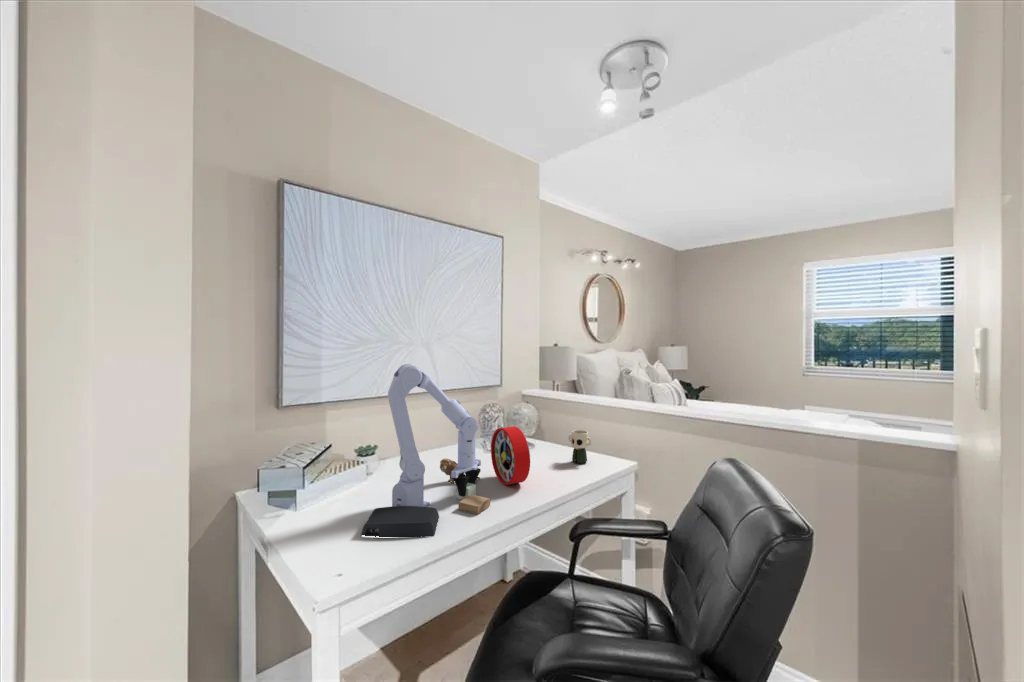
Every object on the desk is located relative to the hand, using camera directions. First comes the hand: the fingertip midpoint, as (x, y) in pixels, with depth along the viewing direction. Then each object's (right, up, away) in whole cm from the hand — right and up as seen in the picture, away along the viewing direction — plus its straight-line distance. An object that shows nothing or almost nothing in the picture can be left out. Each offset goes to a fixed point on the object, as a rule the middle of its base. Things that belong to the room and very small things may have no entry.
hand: (466, 493), depth 136 cm
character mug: (+44, -1, +38) cm, 58 cm away
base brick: (+3, -2, -9) cm, 9 cm away
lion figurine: (-4, -1, +14) cm, 15 cm away
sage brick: (0, -1, 0) cm, 1 cm away
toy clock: (+14, -2, +14) cm, 20 cm away
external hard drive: (-16, -2, -21) cm, 26 cm away
